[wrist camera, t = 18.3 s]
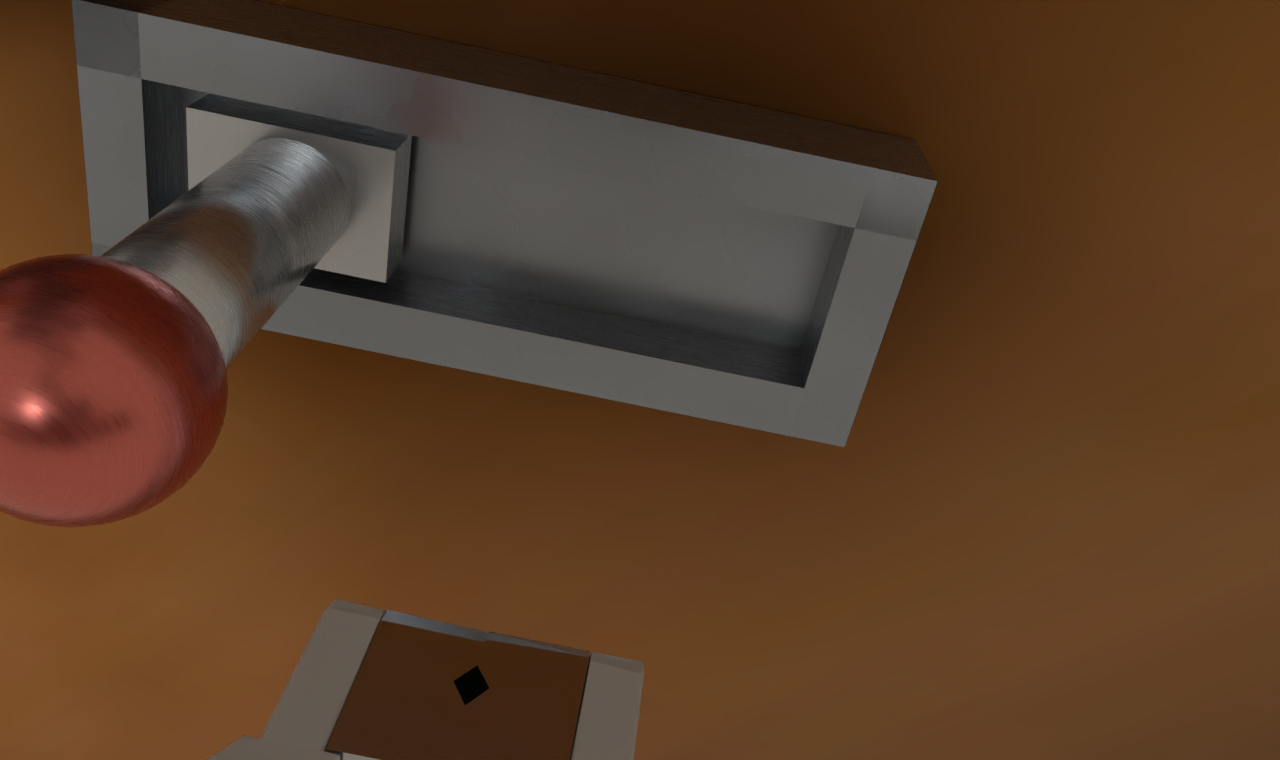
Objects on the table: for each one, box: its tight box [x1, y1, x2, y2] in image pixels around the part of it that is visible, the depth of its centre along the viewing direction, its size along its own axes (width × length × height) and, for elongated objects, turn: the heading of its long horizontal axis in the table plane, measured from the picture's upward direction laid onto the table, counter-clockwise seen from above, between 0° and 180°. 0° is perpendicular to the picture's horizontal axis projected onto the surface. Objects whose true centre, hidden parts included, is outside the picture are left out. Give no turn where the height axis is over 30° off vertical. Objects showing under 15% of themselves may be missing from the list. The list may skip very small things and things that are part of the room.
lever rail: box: [71, 0, 937, 447], centre depth 21 cm, size 6×16×3 cm, turn 79°
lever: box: [0, 93, 412, 527], centre depth 17 cm, size 4×4×10 cm
